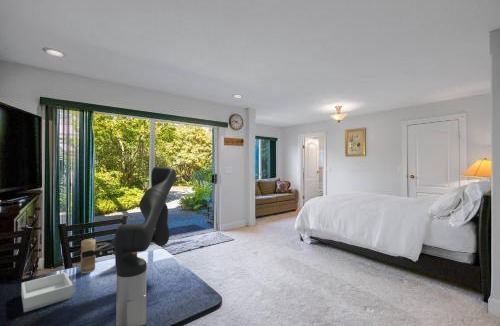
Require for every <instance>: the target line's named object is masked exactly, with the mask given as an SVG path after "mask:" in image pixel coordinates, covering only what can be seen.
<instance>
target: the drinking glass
mask: <svg viewBox="0 0 500 326" xmlns="http://www.w3.org/2000/svg"><path fill="white" fill-rule="evenodd" d="M96 258H97V257H96V256H95V259H96ZM95 269H96V268H95ZM95 269H94V270H92V271H88V272H81V271H80V272H81V273H82V274H89V273H92V272H94V271H95Z"/></svg>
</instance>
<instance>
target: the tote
mask: <svg viewBox="0 0 500 326" xmlns="http://www.w3.org/2000/svg"><path fill="white" fill-rule="evenodd" d="M20 290H21V294H20V295H21V302H22V308H23V309H22V310H23V313H27V312H30V311H33V310H37V309H40V308H43V307H46V306H49V305H53V304H56V303H60V302H63V301H65V300H69V299H72V298H74V285H73V282H72V280H71V279H70V278H69V276H68V274H67V272H65V271H63V272H60V273H56V274H52V275H48V276H45V277H44V276H43V277H40V278H39V277H38V278H36V279H31V280H29V281H28V280H27V281H24V282H21V289H20Z"/></svg>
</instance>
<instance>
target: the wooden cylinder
mask: <svg viewBox="0 0 500 326" xmlns="http://www.w3.org/2000/svg"><path fill="white" fill-rule="evenodd" d="M96 242H97V241H96V238H87V239H83V240H81V241H80V249H81V255H80V272H88V271H92V270H94V269H96V258H95V256H90V257H85V258H82V252H85V251H90V250H94V249H95V244H96ZM94 271H95V270H94ZM92 272H93V271H92Z"/></svg>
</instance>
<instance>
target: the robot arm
mask: <svg viewBox="0 0 500 326" xmlns="http://www.w3.org/2000/svg"><path fill="white" fill-rule="evenodd" d="M150 176H151V177H150V179H151V180H150V182H151V187H150V188H148V189H147V190H146V191H145V192H144V194H143V196H142V197H141V199H140V201H139V210H140V213H141V214H142V216H143V217H144V222H142V223H124V224H120V225H119V226H118V227H117V229H116V231H115V235H114V237H113V238H112V240H111V242H105V241H102V242H97V243H95V249H94V250H90V251H85V252H82V258H85V257H90V256H96V258H98V257H105V256H111V255H112V256H114V258H115V260H114V261H115V264H114V265H115V269H116V291H115V293H116V294H115V295H116V297H115V301H116V303H115V307H116V309H115V310H116V311H115V315H116V316H115V320H116V321H115V326H144V325H146V324H147V275H148V274H147V273H148V272H147V268H148V266H147V261H146V260H145V259H144V258H142V257H138V255H137V256H135V255H134V254H132V252H137V253H141V252H145V251H147V250H148V248H149V247H150V245H151V244H152V243H154V244H155V245H156V246H158V247H164V246H166V245H167V244H168V242H169V239H170V229H169V223H168V222H169V220H168V219H169V208H168V205H167V203H166V200H167V198H168V194H169V192H170V190H172V187H173V186H174V183H175V181H176V178H177V171H176V169H175V168H174V167H172V166H171V167H170V166H154V167H153V168H152V170H151V175H150ZM78 255H80V256H81V248H79V249H78Z"/></svg>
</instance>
